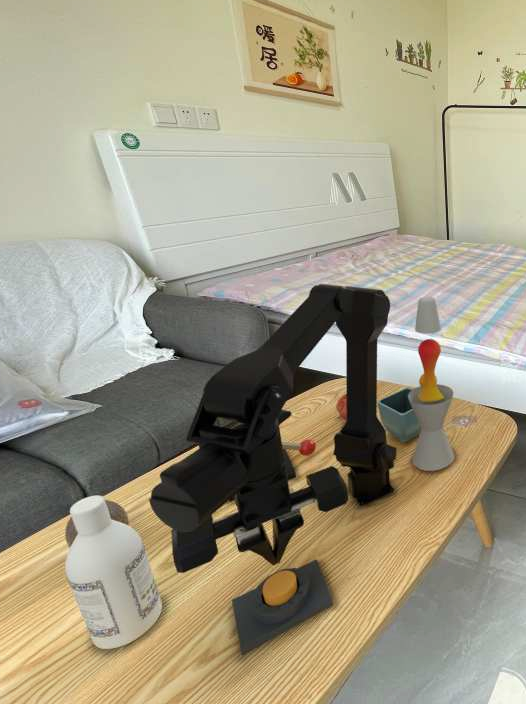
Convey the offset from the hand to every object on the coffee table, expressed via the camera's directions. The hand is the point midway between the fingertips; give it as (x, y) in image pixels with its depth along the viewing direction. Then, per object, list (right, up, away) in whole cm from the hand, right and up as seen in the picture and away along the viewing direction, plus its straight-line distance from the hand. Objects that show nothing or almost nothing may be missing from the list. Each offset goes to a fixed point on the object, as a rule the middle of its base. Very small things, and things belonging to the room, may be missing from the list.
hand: (275, 561), depth 58 cm
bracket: (-18, +2, +26) cm, 32 cm away
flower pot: (+6, +5, +41) cm, 42 cm away
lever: (-15, +6, +27) cm, 32 cm away
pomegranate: (-7, +8, +46) cm, 47 cm away
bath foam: (-19, -8, -1) cm, 21 cm away
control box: (0, -8, +3) cm, 8 cm away
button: (0, -5, +2) cm, 6 cm away
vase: (-33, -3, +10) cm, 35 cm away
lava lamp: (+14, +2, +34) cm, 37 cm away
